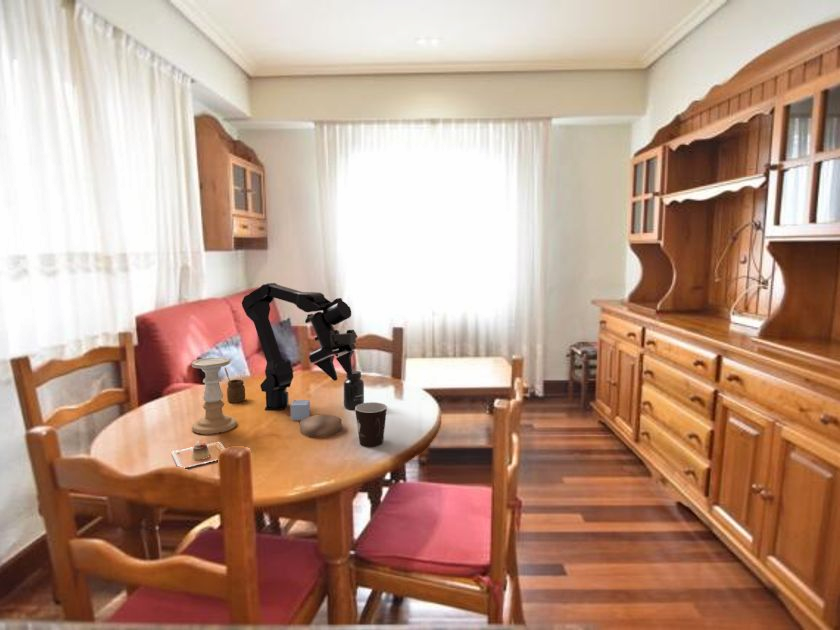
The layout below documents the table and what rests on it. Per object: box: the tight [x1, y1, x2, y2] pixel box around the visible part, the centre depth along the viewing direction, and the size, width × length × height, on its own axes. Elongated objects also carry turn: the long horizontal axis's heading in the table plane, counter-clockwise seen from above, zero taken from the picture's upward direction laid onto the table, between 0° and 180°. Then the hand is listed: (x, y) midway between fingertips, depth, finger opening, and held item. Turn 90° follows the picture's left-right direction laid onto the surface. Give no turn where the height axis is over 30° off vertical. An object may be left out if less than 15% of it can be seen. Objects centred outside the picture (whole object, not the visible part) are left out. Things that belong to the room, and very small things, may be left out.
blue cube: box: [290, 399, 311, 421], centre depth 150 cm, size 5×5×5 cm
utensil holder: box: [224, 366, 246, 404], centre depth 167 cm, size 6×6×12 cm
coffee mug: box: [354, 401, 388, 448], centre depth 128 cm, size 12×9×10 cm
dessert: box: [170, 440, 226, 469], centre depth 121 cm, size 12×12×5 cm
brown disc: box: [299, 414, 343, 438], centre depth 139 cm, size 12×12×2 cm
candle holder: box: [191, 356, 238, 435], centre depth 140 cm, size 12×12×20 cm
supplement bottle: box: [343, 370, 365, 410], centre depth 160 cm, size 7×7×12 cm
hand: (343, 377), depth 145 cm, fingers open, 9 cm apart
